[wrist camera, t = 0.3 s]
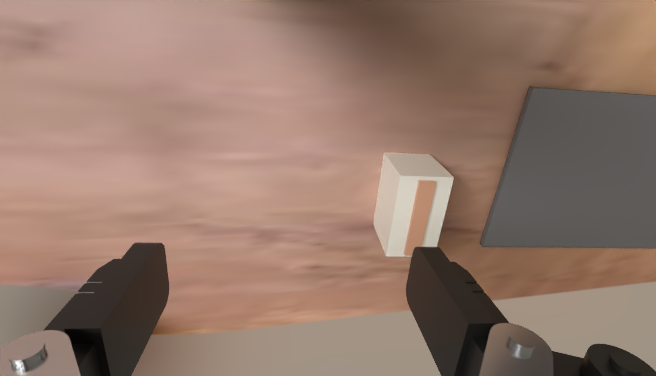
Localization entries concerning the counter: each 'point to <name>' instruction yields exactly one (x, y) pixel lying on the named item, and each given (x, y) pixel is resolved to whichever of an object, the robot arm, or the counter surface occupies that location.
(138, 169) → the counter surface
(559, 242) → the rubber mat
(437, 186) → the block
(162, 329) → the counter surface
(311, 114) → the counter surface
